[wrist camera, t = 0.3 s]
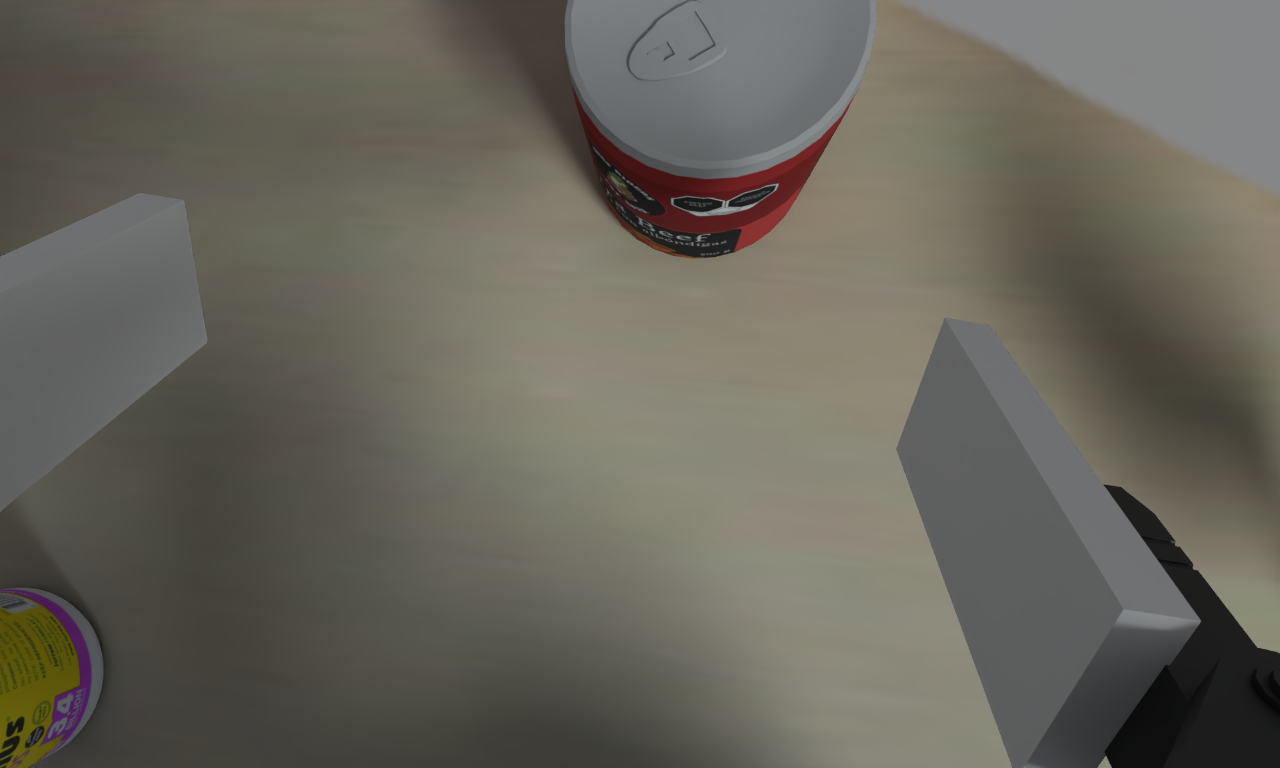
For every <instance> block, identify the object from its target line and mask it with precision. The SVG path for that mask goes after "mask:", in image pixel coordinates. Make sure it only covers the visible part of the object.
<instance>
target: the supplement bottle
mask: <svg viewBox="0 0 1280 768" xmlns="http://www.w3.org/2000/svg"><path fill="white" fill-rule="evenodd" d="M103 673H104V666H103V656H102V652H101V648H100V644H99V641H98V638H97V636H96V634H95V631H94V629H93V628H92V626H91V625H90V623H89V621H88V620H87V619H86V618H85V617H84V616H83V615H82V614H81V613H80V612H79V611H78V610H77V609H76V608H75V607H74V606H73V605H72V604H70V603H69V602H67V601H66V600H64V599H62V598H61V597H59V596H57V595H55V594H52V593H50V592H47V591H43V590H39V589H34V588H6V589H1V590H0V768H29V767H30V766H32V765H34V764H36V763H38V762H40V761H41V760H43V759H45V758H47V757H48V756H50V755H52V754H54V753H55V752H57V751H58V750H60V749H61V748H63V747H64V746H65V745H67V744H68V743H69V742H70V741H71V740H72V739H73V738H74V737H75V736H76V735H77V734H78V733H79V732H80V731H81V730H82V728H83V727H84V726H85V724H86V723H87V721H88V720H89V718H90V717H91V715H92V713H93V711H94V709H95V707H96V705H97V702H98V699H99V696H100V693H101V688H102V683H103Z"/></svg>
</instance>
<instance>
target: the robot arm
mask: <svg viewBox="0 0 1280 768" xmlns="http://www.w3.org/2000/svg"><path fill="white" fill-rule="evenodd" d="M207 342H208V340H207V334H206V328H205V322H204V316H203V310H202V304H201V298H200V292H199V286H198V280H197V274H196V269H195V263H194V257H193V251H192V245H191V239H190V233H189V227H188V221H187V215H186V209H185V203H184V200H182V199H176V198H169V197H163V196H157V195H150V194H144V193H138V194H136V195H134V196H132V197H129V198H127V199H125V200H123V201H121V202H118V203H116V204H114V205H112V206H110V207H107V208H105V209H103V210H101V211H99V212H97V213H94V214H92V215H90V216H88V217H86V218H83V219H81V220H79V221H77V222H75V223H72V224H70V225H68V226H66V227H64V228H62V229H59V230H57V231H55V232H53V233H51V234H48V235H46V236H44V237H42V238H40V239H37V240H35V241H33V242H31V243H29V244H26V245H24V246H22V247H20V248H18V249H16V250H13V251H11V252H9V253H7V254H5V255H2V256H0V512H1V511H2V510H3V509H4V508H6V507H7V506H8V505H9V504H10V503H12V502H13V501H14V500H15V499H17V498H18V497H19V496H20V495H21V494H23V493H24V492H25V491H26V490H28V489H29V488H30V487H31V486H32V485H34V484H35V483H36V482H37V481H39V480H40V479H41V478H42V477H44V476H45V475H46V474H47V473H48V472H50V471H51V470H52V469H53V468H55V467H56V466H57V465H58V464H59V463H61V462H62V461H63V460H64V459H66V458H67V457H68V456H69V455H70V454H72V453H73V452H74V451H75V450H77V449H78V448H79V447H80V446H81V445H83V444H84V443H85V442H86V441H88V440H89V439H90V438H91V437H92V436H94V435H95V434H96V433H97V432H99V431H100V430H101V429H102V428H103V427H105V426H106V425H107V424H108V423H110V422H111V421H112V420H113V419H114V418H116V417H117V416H118V415H119V414H121V413H122V412H123V411H124V410H125V409H127V408H128V407H129V406H130V405H132V404H133V403H134V402H135V401H136V400H138V399H139V398H140V397H141V396H143V395H144V394H145V393H146V392H147V391H149V390H150V389H151V388H152V387H154V386H155V385H156V384H157V383H158V382H160V381H161V380H162V379H163V378H165V377H166V376H167V375H168V374H169V373H171V372H172V371H173V370H174V369H176V368H177V367H178V366H179V365H180V364H182V363H183V362H184V361H185V360H187V359H188V358H189V357H190V356H191V355H193V354H194V353H195V352H196V351H198V350H199V349H200V348H201V347H202V346H204V345H205V344H206V343H207ZM896 450H897V452H898V455H899V458H900V461H901V463H902V466H903V469H904V472H905V474H906V477H907V480H908V482H909V485H910V488H911V491H912V493H913V496H914V499H915V502H916V504H917V507H918V510H919V513H920V515H921V518H922V521H923V524H924V526H925V529H926V532H927V535H928V537H929V540H930V543H931V546H932V548H933V551H934V554H935V556H936V559H937V562H938V565H939V567H940V570H941V573H942V576H943V578H944V581H945V584H946V587H947V589H948V592H949V595H950V598H951V600H952V603H953V606H954V609H955V611H956V614H957V617H958V620H959V622H960V625H961V628H962V630H963V633H964V636H965V639H966V641H967V644H968V647H969V650H970V652H971V655H972V658H973V661H974V663H975V666H976V669H977V672H978V674H979V677H980V680H981V683H982V685H983V688H984V691H985V694H986V696H987V699H988V702H989V704H990V707H991V710H992V713H993V715H994V718H995V721H996V724H997V726H998V729H999V732H1000V735H1001V737H1002V740H1003V743H1004V746H1005V748H1006V751H1007V754H1008V757H1009V759H1010V762H1011V765H1012V768H1097V767H1098V766H1099V764H1100V763H1101V761H1102V760H1103V759H1104V757H1105V756H1107V758H1108V760H1109V762H1110V764H1111V767H1112V768H1280V653H1278V652H1274V651H1270V650H1265V649H1261V648H1257V647H1256V645H1255V644H1254V643H1253V642H1252V640H1251V639H1250V638H1249V636H1248V635H1247V634H1246V632H1245V631H1244V630H1243V628H1242V627H1241V626H1240V625H1239V623H1238V622H1237V621H1236V619H1235V618H1234V617H1233V615H1232V614H1231V613H1230V612H1229V610H1228V609H1227V608H1226V606H1225V605H1224V604H1223V602H1222V601H1221V600H1220V599H1219V597H1218V596H1217V595H1216V593H1215V592H1214V591H1213V589H1212V588H1211V587H1210V586H1209V584H1208V583H1207V582H1206V580H1205V579H1204V578H1203V576H1202V575H1201V574H1200V573H1199V571H1198V570H1193V563H1192V562H1191V561H1190V560H1189V558H1188V557H1187V556H1186V554H1185V553H1184V552H1183V550H1182V549H1181V548H1180V547H1177V546H1175V540H1174V539H1173V537H1172V536H1171V535H1170V534H1169V532H1168V531H1167V530H1166V528H1165V527H1164V526H1163V524H1162V523H1161V522H1160V520H1159V519H1158V518H1157V517H1156V515H1155V514H1154V513H1153V512H1152V511H1150V510H1149V509H1148V508H1147V507H1145V506H1144V505H1143V504H1142V503H1140V502H1139V501H1138V500H1137V499H1135V498H1134V497H1133V496H1131V495H1130V494H1129V493H1128V492H1126V491H1125V490H1124V489H1123V488H1121V487H1117V486H1110V485H1104V484H1103V483H1102V482H1101V481H1100V479H1099V478H1098V476H1097V475H1096V474H1095V472H1094V471H1093V469H1092V468H1091V467H1090V465H1089V464H1088V462H1087V461H1086V460H1085V458H1084V457H1083V455H1082V454H1081V453H1080V451H1079V450H1078V449H1077V447H1076V446H1075V444H1074V443H1073V442H1072V440H1071V439H1070V437H1069V436H1068V435H1067V433H1066V432H1065V430H1064V429H1063V428H1062V426H1061V425H1060V423H1059V422H1058V421H1057V419H1056V418H1055V416H1054V415H1053V414H1052V412H1051V411H1050V409H1049V408H1048V407H1047V405H1046V404H1045V402H1044V401H1043V400H1042V398H1041V397H1040V395H1039V394H1038V393H1037V391H1036V390H1035V389H1034V387H1033V386H1032V384H1031V383H1030V382H1029V380H1028V379H1027V377H1026V376H1025V375H1024V373H1023V372H1022V370H1021V369H1020V368H1019V366H1018V365H1017V363H1016V362H1015V361H1014V359H1013V358H1012V356H1011V355H1010V354H1009V352H1008V351H1007V349H1006V348H1005V347H1004V345H1003V344H1002V342H1001V341H1000V340H999V338H998V337H997V336H996V334H995V333H994V331H993V330H992V329H991V327H990V326H989V325H986V324H980V323H973V322H967V321H960V320H954V319H947V318H944V321H943V324H942V327H941V329H940V332H939V335H938V337H937V340H936V343H935V346H934V348H933V351H932V354H931V356H930V359H929V362H928V364H927V367H926V370H925V373H924V375H923V378H922V381H921V383H920V386H919V389H918V392H917V394H916V397H915V400H914V402H913V405H912V408H911V410H910V413H909V416H908V419H907V421H906V424H905V427H904V429H903V432H902V435H901V437H900V440H899V443H898V446H897V448H896Z"/></svg>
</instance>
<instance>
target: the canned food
mask: <svg viewBox="0 0 1280 768" xmlns="http://www.w3.org/2000/svg"><path fill="white" fill-rule="evenodd" d="M876 24H877V16H876V0H568V2H567V7H566V12H565V56H566V61H567V65H568V70H569V75H570V79H571V84H572V87H573V92H574V96H575V101H576V104H577V108H578V111H579V114H580V118H581V121H582V124H583V128H584V131H585V134H586V138H587V141H588V144H589V148H590V151H591V154H592V158H593V161H594V164H595V168H596V171H597V174H598V178H599V181H600V185H601V188H602V191H603V194H604V196H605V198H606V201H607V203H608V205H609V207H610V209H611V211H612V213H613V214H614V215H615V217H616V218H617V219H618V221H619V222H620V223H621V225H622V226H623V227H624V228H625V229H626V230H627V231H628V232H630V233H631V234H632V235H633V236H634V237H635V238H636V239H638V240H639V241H641V242H643V243H644V244H646V245H648V246H650V247H651V248H653V249H655V250H658V251H661V252H664V253H667V254H670V255H673V256H680V257H687V258H708V257H717V256H721V255H725V254H729V253H733V252H736V251H738V250H740V249H742V248H744V247H747V246H749V245H751V244H753V243H755V242H756V241H757V240H759V239H760V238H762V237H763V236H764V235H766V234H767V233H769V232H770V231H771V230H772V229H773V228H774V227H775V226H776V225H777V224H778V223H779V222H780V221H781V220H782V219H783V218H784V217H785V215H786V214H787V212H788V211H789V209H790V207H791V206H792V204H793V203H794V201H795V200H796V198H797V196H798V195H799V193H800V191H801V189H802V188H803V186H804V184H805V183H806V181H807V179H808V177H809V176H810V174H811V172H812V170H813V169H814V167H815V165H816V164H817V162H818V160H819V158H820V157H821V155H822V153H823V152H824V150H825V148H826V146H827V145H828V143H829V141H830V139H831V138H832V136H833V134H834V133H835V131H836V129H837V127H838V126H839V124H840V122H841V120H842V119H843V117H844V115H845V114H846V112H847V110H848V108H849V106H850V103H851V101H852V100H853V98H854V96H855V94H856V93H857V91H858V88H859V86H860V83H861V81H862V78H863V76H864V73H865V70H866V68H867V65H868V62H869V58H870V55H871V52H872V47H873V41H874V36H875V30H876Z"/></svg>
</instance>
